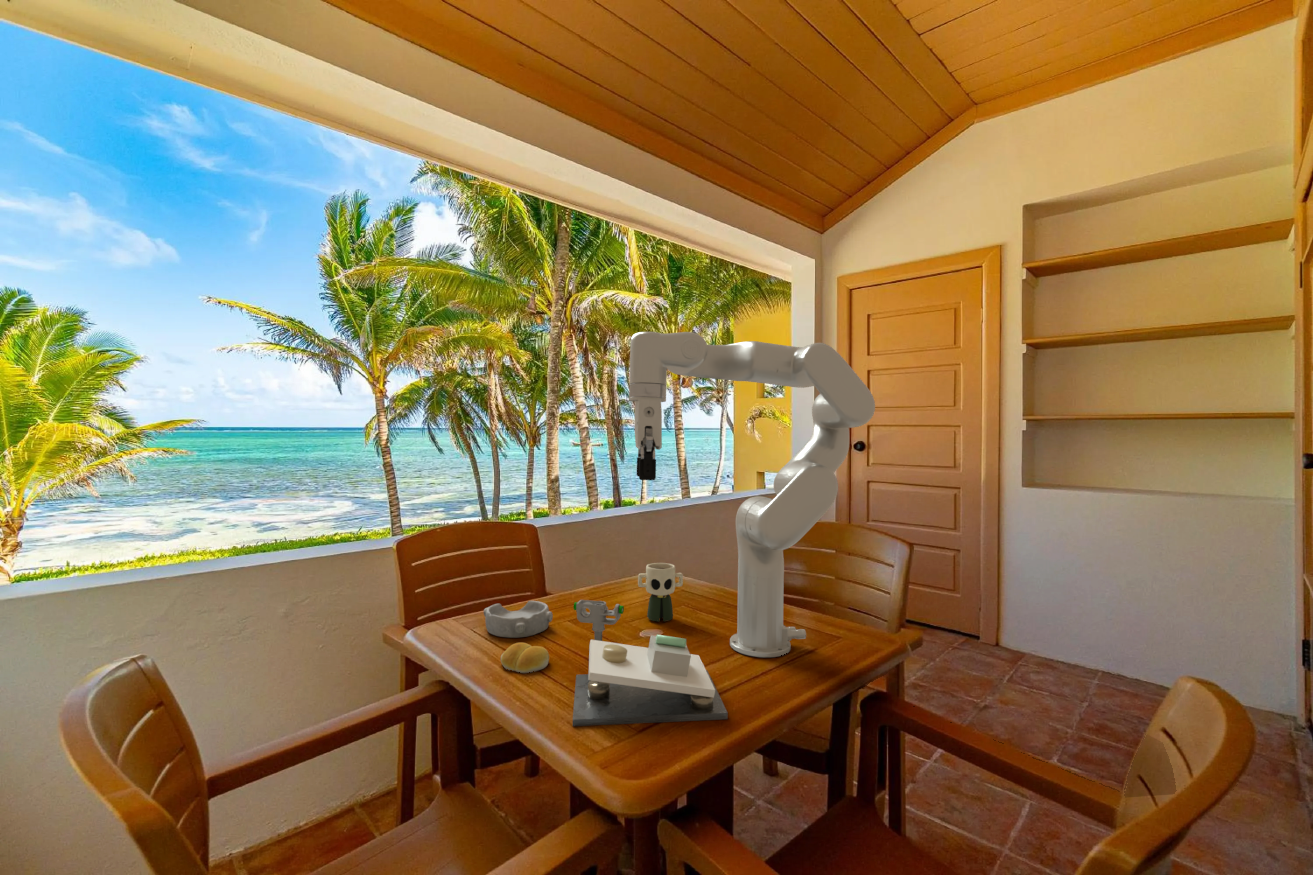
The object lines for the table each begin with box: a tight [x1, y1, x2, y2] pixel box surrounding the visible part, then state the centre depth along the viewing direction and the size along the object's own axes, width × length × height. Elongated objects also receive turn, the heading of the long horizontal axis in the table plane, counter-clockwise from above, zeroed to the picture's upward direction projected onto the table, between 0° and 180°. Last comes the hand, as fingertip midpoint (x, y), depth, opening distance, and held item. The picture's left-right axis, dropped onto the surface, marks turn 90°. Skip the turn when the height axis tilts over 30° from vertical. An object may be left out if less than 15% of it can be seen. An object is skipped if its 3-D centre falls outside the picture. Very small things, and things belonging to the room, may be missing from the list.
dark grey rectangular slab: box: [572, 669, 729, 727], centre depth 93 cm, size 24×16×3 cm, turn 96°
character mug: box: [637, 562, 684, 622], centre depth 134 cm, size 11×7×13 cm, turn 96°
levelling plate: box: [588, 634, 715, 697], centre depth 93 cm, size 20×14×6 cm
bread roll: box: [500, 642, 550, 674], centre depth 107 cm, size 8×9×4 cm
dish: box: [483, 600, 554, 639], centre depth 126 cm, size 14×14×5 cm
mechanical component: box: [573, 599, 625, 641], centre depth 113 cm, size 3×10×10 cm, turn 78°
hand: (645, 478), depth 113 cm, fingers open, 9 cm apart
